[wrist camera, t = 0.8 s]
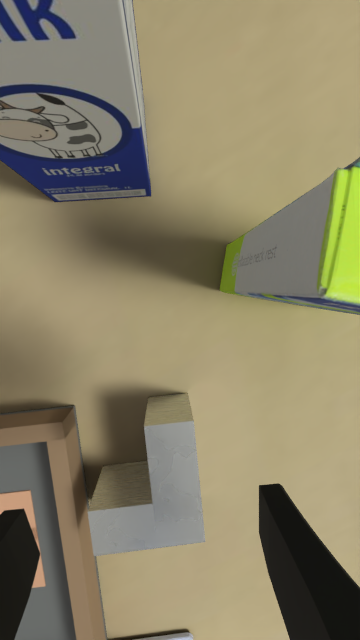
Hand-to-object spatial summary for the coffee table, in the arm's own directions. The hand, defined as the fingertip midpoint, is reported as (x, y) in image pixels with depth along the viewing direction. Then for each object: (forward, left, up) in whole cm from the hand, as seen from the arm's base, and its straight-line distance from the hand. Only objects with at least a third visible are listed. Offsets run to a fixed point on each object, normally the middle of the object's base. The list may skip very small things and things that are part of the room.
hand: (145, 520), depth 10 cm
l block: (-5, +1, -14) cm, 15 cm away
